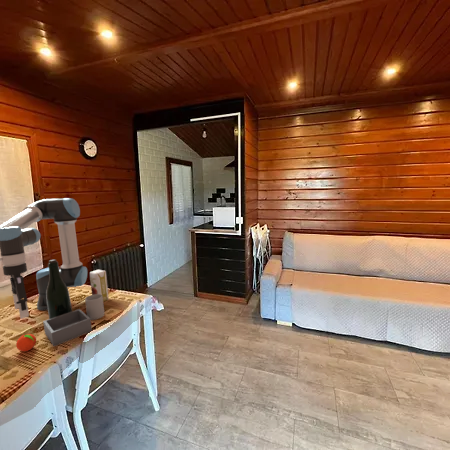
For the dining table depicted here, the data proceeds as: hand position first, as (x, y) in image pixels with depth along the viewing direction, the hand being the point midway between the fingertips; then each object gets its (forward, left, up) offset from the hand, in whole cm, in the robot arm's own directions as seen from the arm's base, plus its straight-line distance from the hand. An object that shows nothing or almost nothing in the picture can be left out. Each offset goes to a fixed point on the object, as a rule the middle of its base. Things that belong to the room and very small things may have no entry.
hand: (21, 312), depth 107 cm
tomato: (0, 0, -18) cm, 18 cm away
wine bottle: (-18, +17, -18) cm, 31 cm away
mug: (-10, +32, -18) cm, 38 cm away
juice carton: (-28, +41, -18) cm, 53 cm away
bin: (-2, +16, -18) cm, 24 cm away
